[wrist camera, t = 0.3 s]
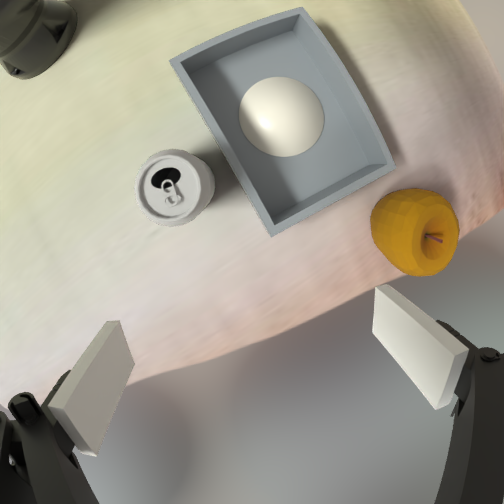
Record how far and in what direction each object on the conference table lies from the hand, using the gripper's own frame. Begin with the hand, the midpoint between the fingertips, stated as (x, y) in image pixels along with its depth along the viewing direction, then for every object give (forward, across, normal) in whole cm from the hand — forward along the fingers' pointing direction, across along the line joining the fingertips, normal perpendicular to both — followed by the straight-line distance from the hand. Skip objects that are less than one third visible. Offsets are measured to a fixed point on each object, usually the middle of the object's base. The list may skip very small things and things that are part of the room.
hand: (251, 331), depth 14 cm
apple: (+25, +22, -1) cm, 34 cm away
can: (+26, -6, +7) cm, 27 cm away
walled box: (+25, +7, +15) cm, 30 cm away
